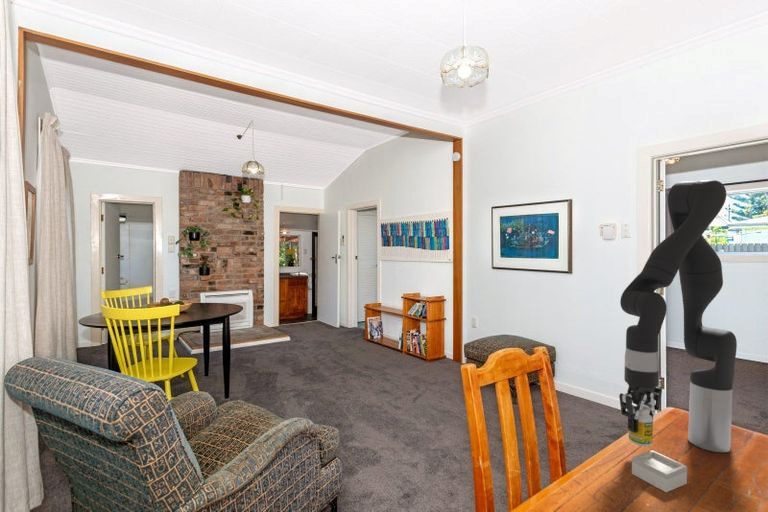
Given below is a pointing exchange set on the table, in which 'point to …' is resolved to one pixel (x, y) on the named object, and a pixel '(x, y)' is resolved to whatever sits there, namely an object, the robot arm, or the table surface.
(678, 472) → the grey open box
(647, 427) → the supplement bottle
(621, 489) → the table surface
